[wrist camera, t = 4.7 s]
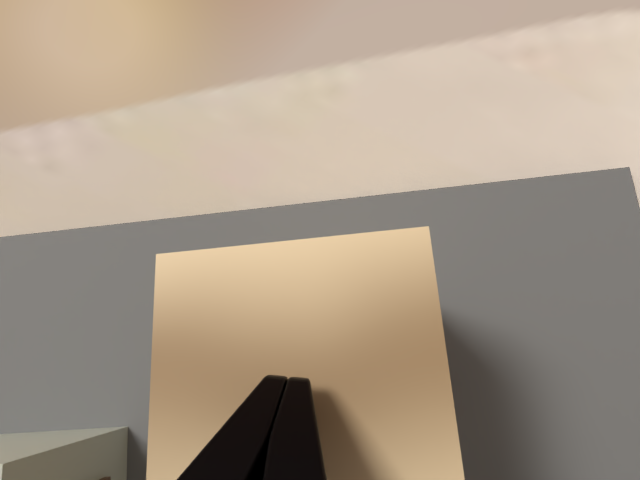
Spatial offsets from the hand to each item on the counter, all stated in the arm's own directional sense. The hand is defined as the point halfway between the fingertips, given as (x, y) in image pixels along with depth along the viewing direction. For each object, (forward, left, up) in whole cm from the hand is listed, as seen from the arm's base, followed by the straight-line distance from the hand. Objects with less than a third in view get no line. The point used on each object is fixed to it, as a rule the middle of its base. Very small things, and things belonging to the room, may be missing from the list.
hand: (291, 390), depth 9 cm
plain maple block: (0, 0, -8) cm, 8 cm away
